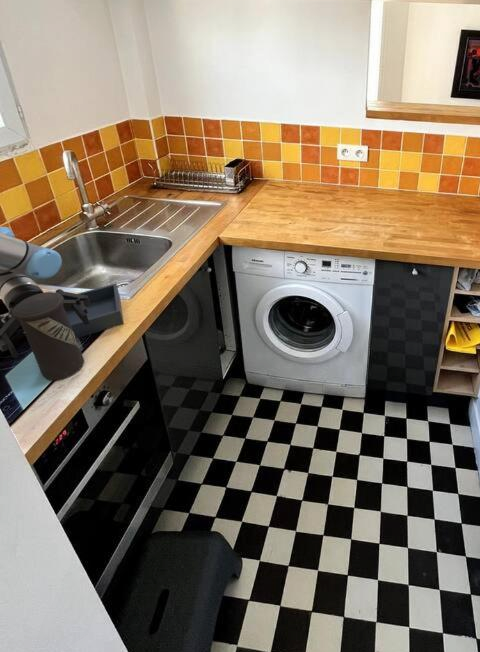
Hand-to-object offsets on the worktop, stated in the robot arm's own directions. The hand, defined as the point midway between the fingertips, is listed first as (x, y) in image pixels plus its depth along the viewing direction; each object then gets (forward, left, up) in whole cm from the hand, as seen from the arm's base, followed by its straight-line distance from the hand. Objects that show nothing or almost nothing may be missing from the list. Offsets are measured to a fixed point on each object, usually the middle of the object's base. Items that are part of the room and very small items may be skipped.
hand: (52, 335), depth 88 cm
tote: (+5, +18, -11) cm, 22 cm away
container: (-1, +1, -11) cm, 11 cm away
